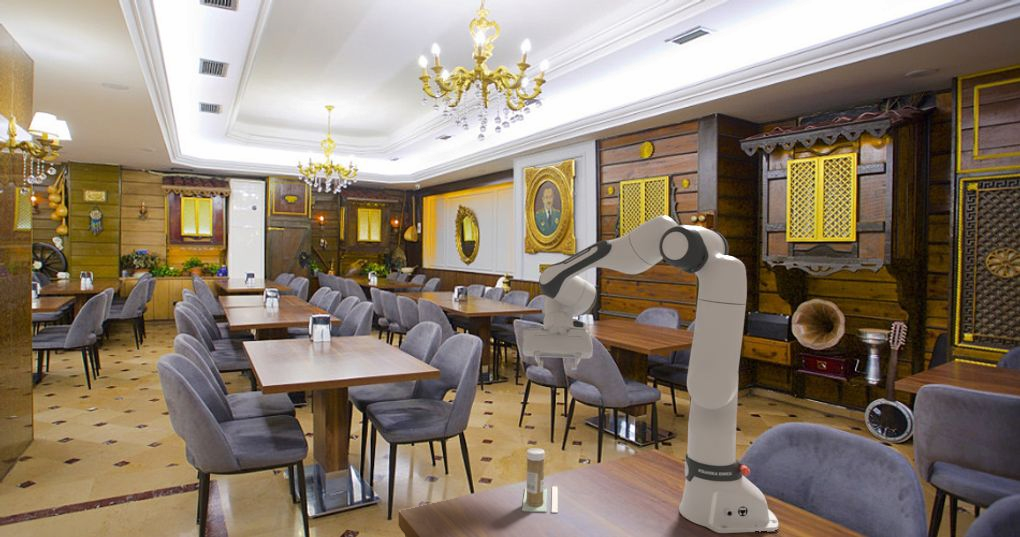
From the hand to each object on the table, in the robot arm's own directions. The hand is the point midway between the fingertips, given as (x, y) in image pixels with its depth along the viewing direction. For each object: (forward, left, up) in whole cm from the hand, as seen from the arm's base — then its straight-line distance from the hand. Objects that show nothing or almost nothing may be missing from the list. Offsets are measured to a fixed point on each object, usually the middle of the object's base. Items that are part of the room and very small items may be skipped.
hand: (557, 368), depth 156 cm
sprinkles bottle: (+5, +17, -31) cm, 36 cm away
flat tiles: (+4, +14, -31) cm, 34 cm away
